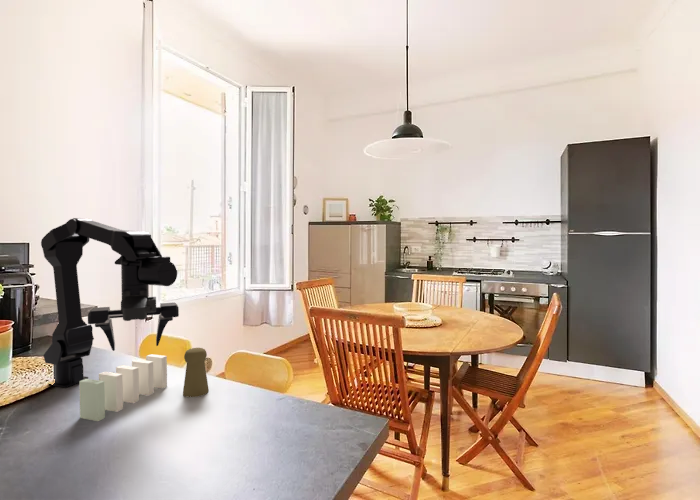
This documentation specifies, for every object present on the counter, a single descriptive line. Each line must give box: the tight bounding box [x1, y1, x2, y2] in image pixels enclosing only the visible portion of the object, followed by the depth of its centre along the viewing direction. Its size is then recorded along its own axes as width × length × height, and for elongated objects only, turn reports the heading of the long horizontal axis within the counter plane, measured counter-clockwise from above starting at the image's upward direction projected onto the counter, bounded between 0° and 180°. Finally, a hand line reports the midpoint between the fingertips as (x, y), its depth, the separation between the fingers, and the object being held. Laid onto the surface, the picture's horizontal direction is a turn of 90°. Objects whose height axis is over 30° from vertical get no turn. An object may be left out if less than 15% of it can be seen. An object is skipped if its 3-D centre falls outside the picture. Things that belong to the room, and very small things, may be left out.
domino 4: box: [145, 353, 168, 390], centre depth 100 cm, size 2×5×8 cm, turn 73°
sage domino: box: [78, 378, 106, 422], centre depth 83 cm, size 2×5×8 cm, turn 74°
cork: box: [182, 347, 210, 398], centre depth 97 cm, size 6×6×11 cm
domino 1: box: [98, 371, 124, 413], centre depth 87 cm, size 2×5×8 cm, turn 73°
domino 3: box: [131, 358, 155, 397], centre depth 96 cm, size 2×5×8 cm, turn 73°
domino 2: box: [115, 364, 140, 404], centre depth 92 cm, size 2×5×8 cm, turn 73°
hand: (135, 347), depth 94 cm, fingers open, 9 cm apart
